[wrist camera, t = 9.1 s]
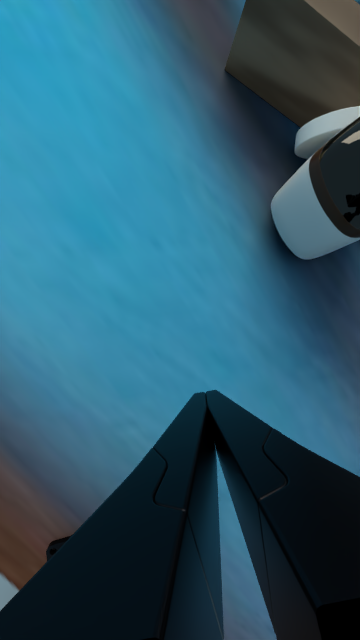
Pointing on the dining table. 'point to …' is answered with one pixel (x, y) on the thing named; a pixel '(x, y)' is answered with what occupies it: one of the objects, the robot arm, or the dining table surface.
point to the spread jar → (322, 187)
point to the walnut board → (299, 55)
